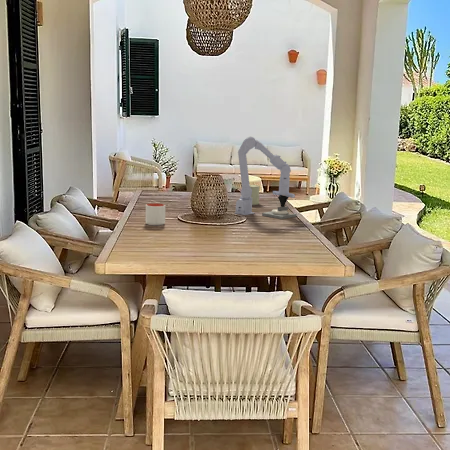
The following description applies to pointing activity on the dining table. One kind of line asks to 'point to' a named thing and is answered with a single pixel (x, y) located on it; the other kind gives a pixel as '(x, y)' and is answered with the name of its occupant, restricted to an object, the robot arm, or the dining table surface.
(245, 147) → the robot arm
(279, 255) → the dining table surface
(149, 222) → the cup
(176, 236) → the dining table surface
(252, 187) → the can
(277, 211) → the dial
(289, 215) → the dial plate
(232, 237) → the dining table surface
